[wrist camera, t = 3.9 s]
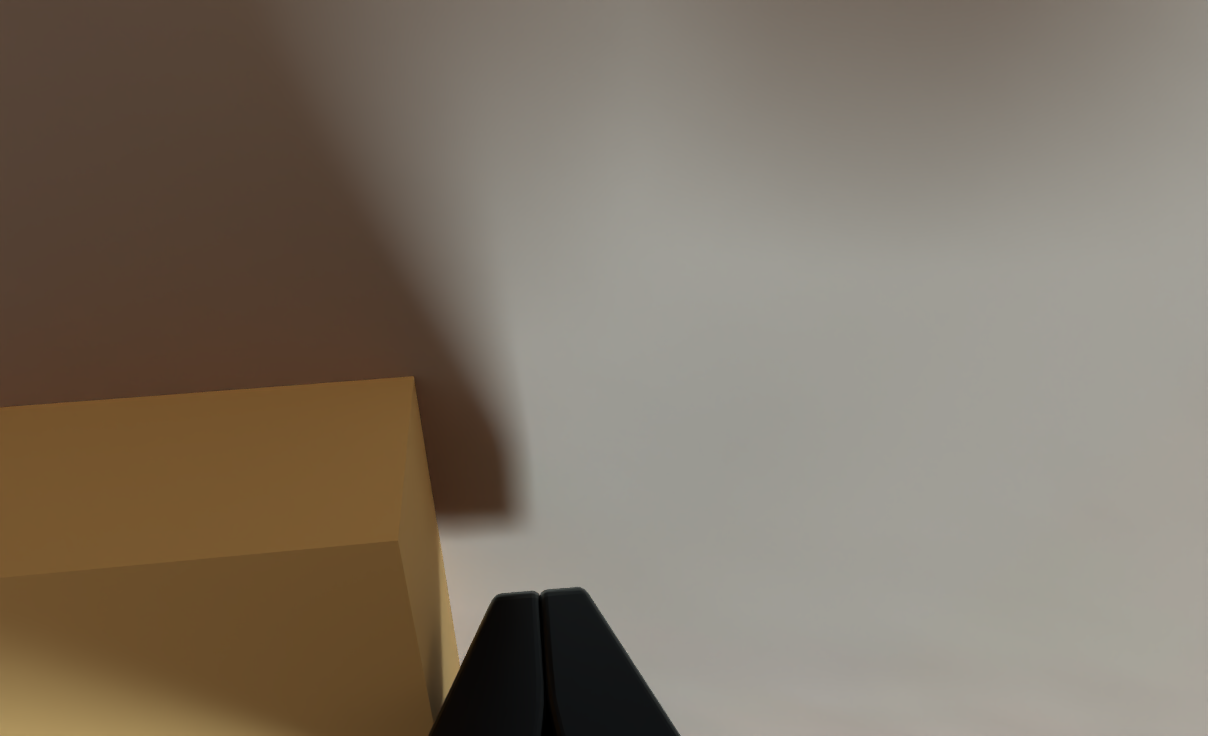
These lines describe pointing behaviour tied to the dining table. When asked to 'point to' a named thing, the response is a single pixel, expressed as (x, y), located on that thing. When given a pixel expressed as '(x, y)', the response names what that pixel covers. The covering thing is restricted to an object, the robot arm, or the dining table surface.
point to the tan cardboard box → (222, 565)
